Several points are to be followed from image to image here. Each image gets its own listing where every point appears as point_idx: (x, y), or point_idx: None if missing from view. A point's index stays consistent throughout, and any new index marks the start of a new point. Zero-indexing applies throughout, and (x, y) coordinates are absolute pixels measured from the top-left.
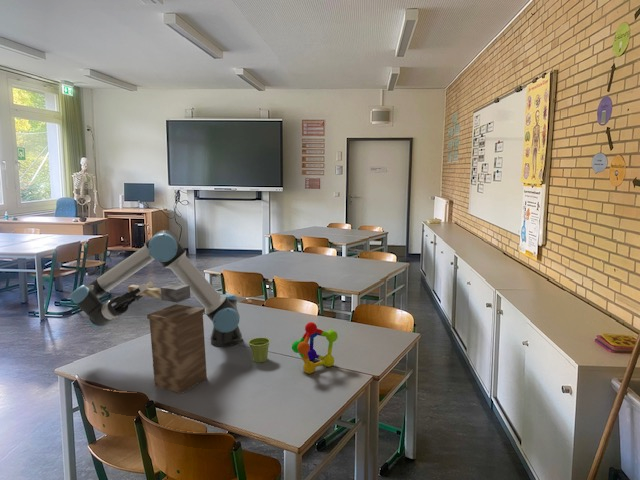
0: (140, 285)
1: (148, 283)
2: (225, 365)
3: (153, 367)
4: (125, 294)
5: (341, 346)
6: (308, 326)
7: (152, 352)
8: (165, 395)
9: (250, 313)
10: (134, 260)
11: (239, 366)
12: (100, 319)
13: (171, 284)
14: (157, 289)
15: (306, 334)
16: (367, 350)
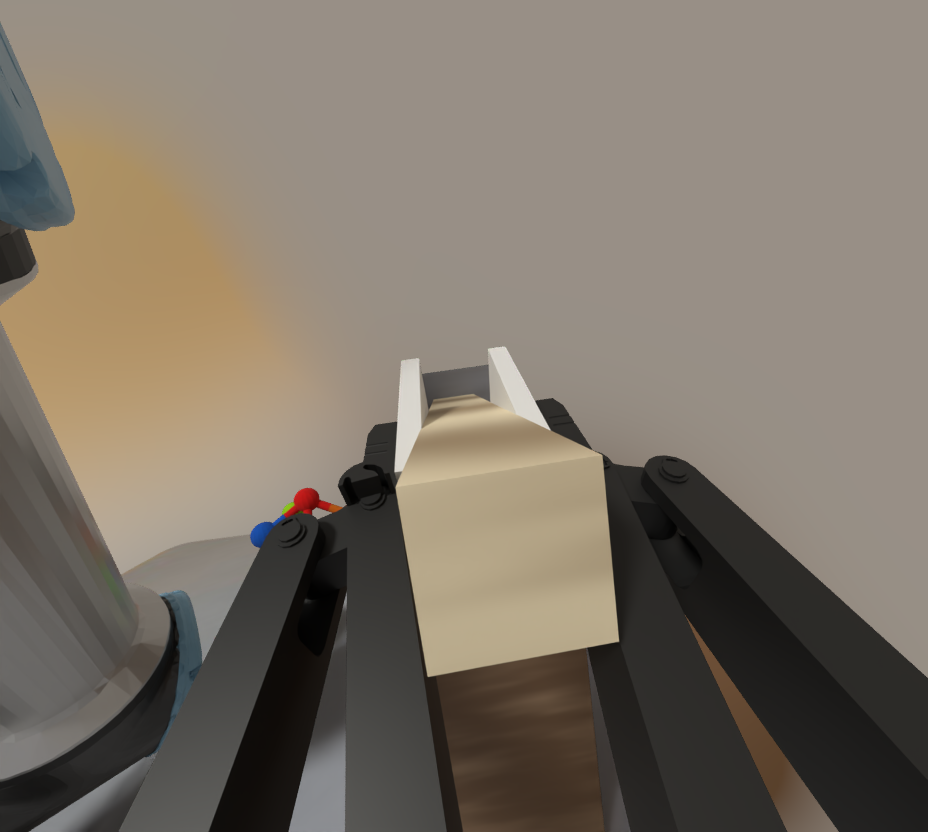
0: (516, 369)
1: (421, 383)
2: (326, 732)
3: (597, 766)
4: (703, 488)
5: (209, 586)
6: (314, 492)
7: (589, 694)
8: (598, 720)
9: None
10: None
11: (330, 685)
12: None
13: (426, 373)
14: (463, 399)
15: (311, 512)
16: (243, 556)
